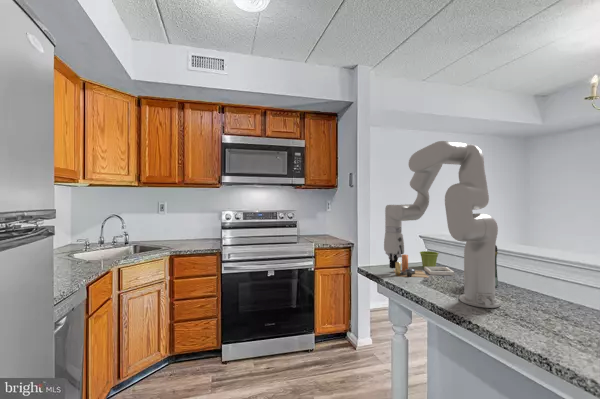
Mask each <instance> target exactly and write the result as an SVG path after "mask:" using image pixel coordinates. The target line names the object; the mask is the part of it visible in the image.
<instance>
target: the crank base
mask: <svg viewBox="0 0 600 399" xmlns="http://www.w3.org/2000/svg"><path fill="white" fill-rule="evenodd" d="M401 271H402V269H401ZM393 272H394V273H395V269H393ZM396 277H399V278H422V279H423V278H424V279H427V278H428V279H429V278H430V276H428V275H427V274H426V272H424V271H423V270H416V269H415V274H412V272H407V274H405V275H396Z"/></svg>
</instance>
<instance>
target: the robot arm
mask: <svg viewBox="0 0 600 399" xmlns="http://www.w3.org/2000/svg"><path fill="white" fill-rule="evenodd" d="M484 158H485V157H484V154H483V152H482V149H480V148H479V147H478V146H477V145H475V144H472V143H466V142H460V141H459V142H457V141H448V140H440V141H435V142H433V143H431V144H429V145H427V146H425V147H423V148H420V149H419V150H417V151H415V152H414V153H412V155H411V156H410V158H409V159H408V169H409V170H410V171H412V172H414V173H413V175H412V177H411V179H410V181H409V187H410V188H411V189H413V190H414V191H415V192H417V193H416V194H417V195H416V198H415V199H414V202H413V204H412V203H411V204H406V203H405V204H387V205H386V206H385V210H384V214H385V218H384V220H385V221H384V222H385V225H384V228H385V229H384V230H385V231H384V242H383V249H384V253H385V254H386V255H387V256H388V260H389V268H390V269H395V262H398V260H399V258H402V255H405V254H404V253H405V241H404V235H403V233H402V232H403V231H402V222H406V221H407V222H408V221H417V220H420V219H422V217H423V215H424V214H425V212H426V211H427V209H428V207H429V204H430V194H429V191H430V189H431V186H432V185H433V183H434V181H435V180H436V178H437V176H438V174H439V172H440V171H441V169H442V166H443V165H456V166H457V165H459V169H458V180H459V182H458V183H453V184H451V185H450V186H449V187H447V190H446V191H445V195H444V206H445V215H446V222H447V230H448V232H449V234H450V236H451V238H452V239H454V240H455V241H458V242H462V243H463V242H464V243H465V244H464V245H465V246H464V251H463V286H464V288H463V291H464V292H463V294H460V295H459V300H460V302H462V303H463V304H465V305H469V306H473V307H477V308H483V309H484V308H485V309H486V308H487V309H495V308H499V307H501V305H502V304H501V300H499V299H497V298H496V287H495V245H496V246H497V238H498V232H499V227H498V223H497V221H496V220H495V219H494V217H493V216H491V215H489V214H486V213H479V212H478V213H477V212H476V213H473V211H477V210H482V209H483V208H484V209H485V208H486V207H487V205H488V204H489V202H490V196H489V188H488V183H487V175H486V172H485V159H484Z"/></svg>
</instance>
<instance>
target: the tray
mask: <svg viewBox="0 0 600 399" xmlns="http://www.w3.org/2000/svg"><path fill="white" fill-rule="evenodd" d="M423 269H424V271H425V272H427V274H429V275H431V276H452V277H453V278H455V277H456V273H455V271H454V270H452V269H450V267H447V266H436V267H423Z"/></svg>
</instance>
